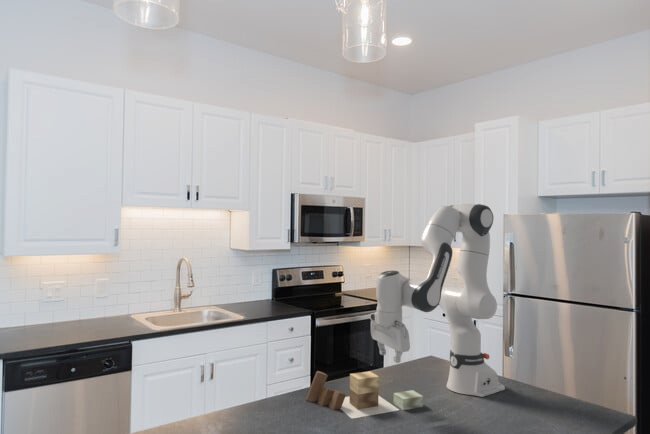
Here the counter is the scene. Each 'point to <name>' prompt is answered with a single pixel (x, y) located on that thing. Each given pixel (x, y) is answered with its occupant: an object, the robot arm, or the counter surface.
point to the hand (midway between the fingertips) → (389, 358)
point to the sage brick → (408, 400)
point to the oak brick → (364, 382)
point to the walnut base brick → (364, 399)
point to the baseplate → (354, 413)
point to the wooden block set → (324, 393)
